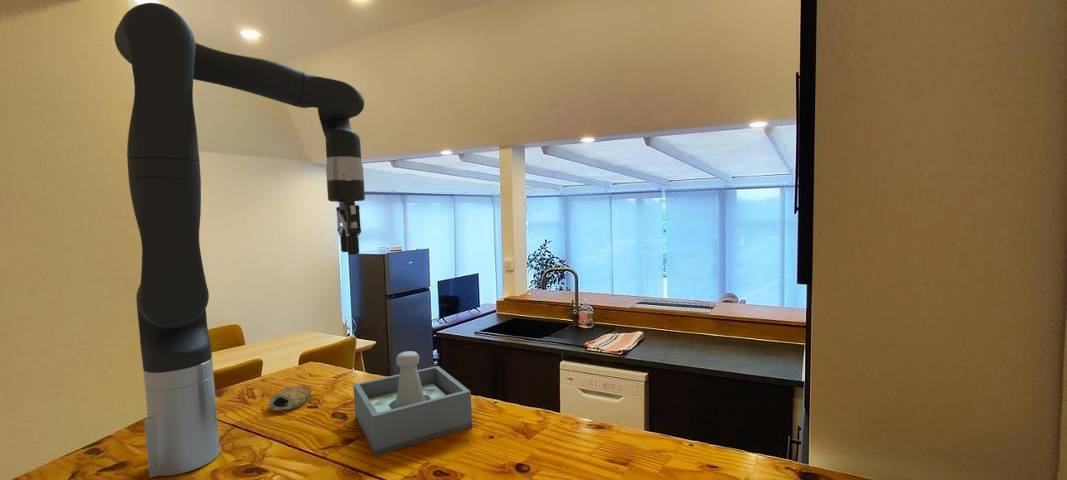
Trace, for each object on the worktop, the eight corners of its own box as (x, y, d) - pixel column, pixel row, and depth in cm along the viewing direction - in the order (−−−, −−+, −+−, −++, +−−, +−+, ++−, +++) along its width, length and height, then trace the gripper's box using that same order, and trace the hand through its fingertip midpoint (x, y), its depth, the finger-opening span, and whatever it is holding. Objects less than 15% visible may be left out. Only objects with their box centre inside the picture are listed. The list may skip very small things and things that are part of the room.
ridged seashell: (292, 394, 107) (291, 378, 107) (319, 394, 106) (318, 378, 106) (265, 412, 98) (264, 394, 97) (295, 412, 97) (294, 395, 97)
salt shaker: (430, 411, 92) (427, 348, 91) (419, 424, 86) (416, 357, 86) (403, 410, 93) (399, 348, 92) (390, 423, 87) (387, 357, 86)
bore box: (375, 456, 77) (372, 416, 77) (355, 417, 93) (353, 384, 92) (472, 426, 87) (470, 391, 86) (439, 396, 102) (438, 365, 102)
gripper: (322, 181, 103) (327, 252, 104) (331, 176, 91) (336, 256, 92) (357, 181, 107) (361, 250, 108) (370, 176, 95) (374, 253, 96)
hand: (350, 253), depth 100 cm, fingers open, 8 cm apart
